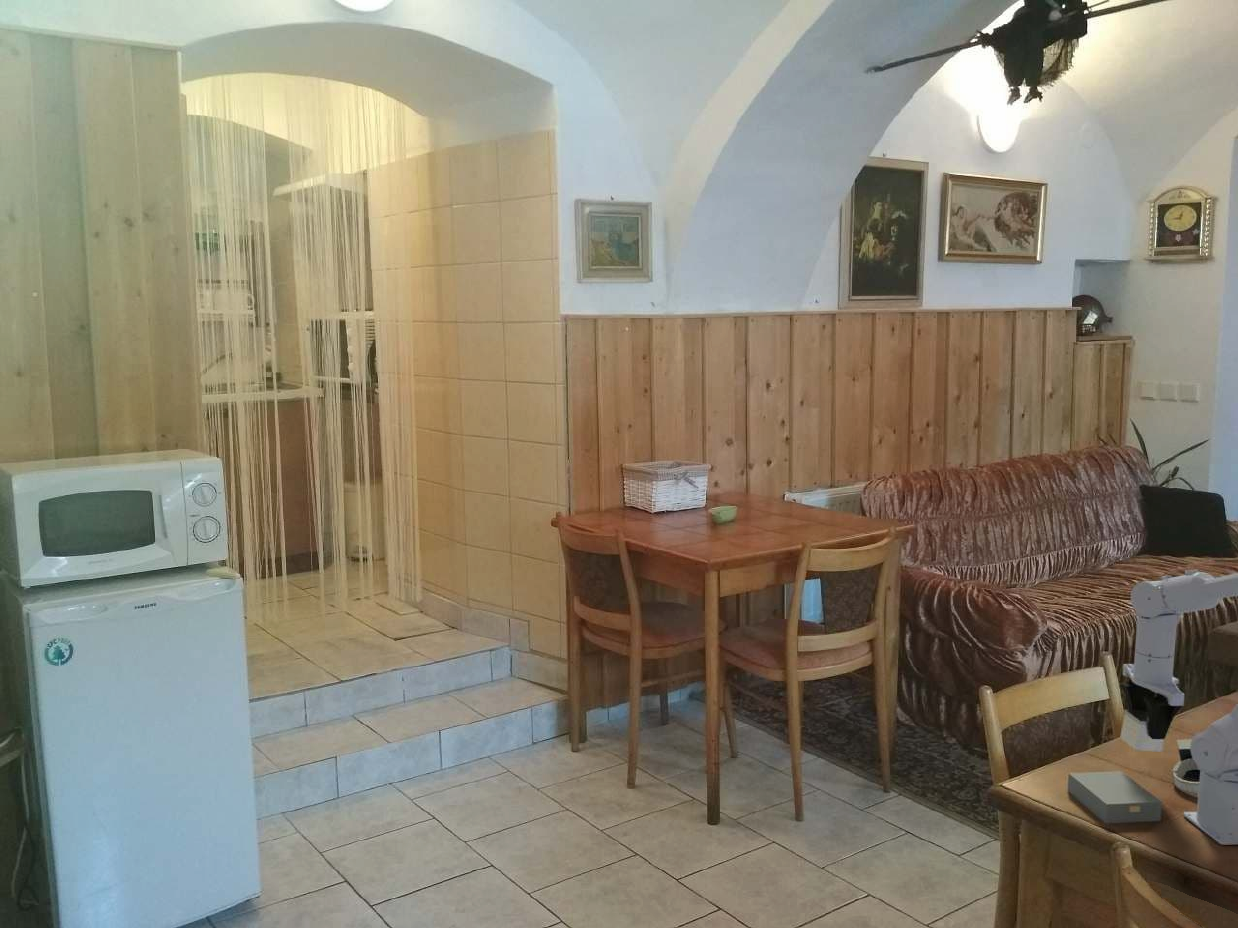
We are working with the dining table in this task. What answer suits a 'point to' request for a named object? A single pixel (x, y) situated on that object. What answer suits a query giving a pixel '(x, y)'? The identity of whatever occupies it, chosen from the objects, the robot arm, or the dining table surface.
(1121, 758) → the dining table surface
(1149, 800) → the watch box
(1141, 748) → the tea tin
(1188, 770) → the watch
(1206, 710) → the dining table surface
